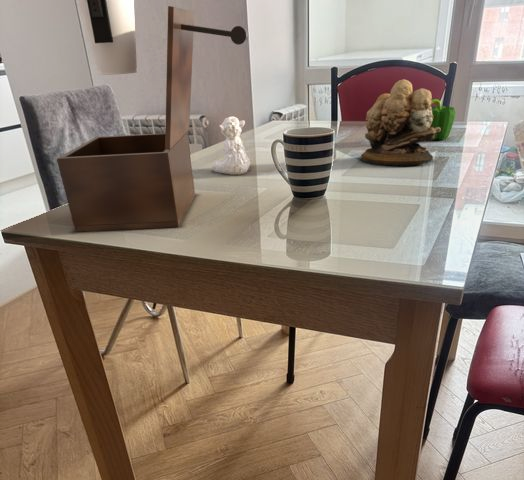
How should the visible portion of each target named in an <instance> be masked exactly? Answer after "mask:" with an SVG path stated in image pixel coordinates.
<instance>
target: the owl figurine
mask: <svg viewBox="0 0 524 480" xmlns="http://www.w3.org/2000/svg"><path fill="white" fill-rule="evenodd" d="M431 100H433V97H432V92H431V91H430V90H429V89H426V88H421V87H420V88H419V89H416V90H414V91H413V84H412V82H411V81H409V80H407V79H404V78H402V79H400V80H399V79H398V81H396V82H395V83H394V85H393V86H392V88H391V89H390V93H382V94H380V95H379V96H378V97H377V99H376V101H375V103H374V104H373V106H372V107H371V108H370V109H369V110H367V112H366V115H365V116H366V117H365V128H366V131H367V132H366V133H365V134H364V138H365V139H366V140H367V141H369V145H370V148H367V149H366V150H365V151H364V152H363V153H361V156H360V160H361V161H362V162H364V163H367V164H373V165H381V166H390V167H391V166H393V167H396V166H397V167H408V166H413V167H414V166H420V165H423V164H428V163H429V162H431V161H432V160H434V159H433V158H434V156H433V155H432V154H431V153H430V151H429V150H427V147H424V146H422V145H421V144H420V143H421V142H427V141H434V140H433V139H434V138H435V135H436V134H437V133H439V132H440V131H441V128H440V127H436V128H433V127H430V126H431V124H432V120H433V114H432V108H431V107H432V104H431V103H432V101H431Z"/></svg>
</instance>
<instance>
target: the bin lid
mask: <svg viewBox="0 0 524 480" xmlns="http://www.w3.org/2000/svg"><path fill="white" fill-rule="evenodd" d="M194 32H195V33H201V34H208V35H214V36H222V37H227V38H228V37H229V38H230V40H231V42H232V43H233V44H235V45H240V46H241V45H244V44H246V43H247V41H248V39H249V31H248V29H247V28H246V27H245V26H241V25H236V26H234V27H232V29H231V30H228V29H227V30H225V29H220V28H219V29H218V28H212V27H206V26H199V25H195V11H193V10H189V9H184V8H180V7H176V6H173V5H168V6H167V35H166V37H167V39H166V42H167V44H166V80H165V81H166V82H165V84H166V87H165V88H166V89H165V131H164V133H165V149H166V150H170V149H171V148H172V147H173V146H174V145H175V144H176V143H177V142H178V141H179V140H180V139H181V138H182V137H183V135H184V134H185V133H186V132H187V133H188V131H189V130H190V123H191V122H190V120H191V119H190V118H191V97H192V75H193V74H192V73H193V71H192V70H193V54H194V53H193V52H194V51H193V50H194V49H193V48H194Z"/></svg>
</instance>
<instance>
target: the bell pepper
mask: <svg viewBox="0 0 524 480" xmlns="http://www.w3.org/2000/svg"><path fill="white" fill-rule="evenodd" d="M431 101H432V103H431V108H432V114H433V120H432V124H431V126H430V127H433V128H436V127H440V128H441V131H440V132H439V133H437V134H436V135H435V138H434V139H433V140H432V141H436V140H437V141H441V140H443V141H444V140H447V139H448V137H449V136H450V134H451V131H452V128H453V125H454V122H455V118H456V109H455V107H453V106H444V105H442V104H441V103H442V102H441V100H439V99H433V98H432V99H431ZM433 104H436V106H433Z"/></svg>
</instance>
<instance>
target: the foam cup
mask: <svg viewBox="0 0 524 480" xmlns="http://www.w3.org/2000/svg"><path fill="white" fill-rule="evenodd" d="M76 2H77V6H78V9H79V13H80V16H81V19H82V23H83V26H84V29H85V32H86V35H87V38H88V42H89V46H90V48H91V52H92V55H93V58H94V62H95V64H96V68H97V71H98V74H99V76H113V75H115V76H116V75H126V74H127V75H128V74H136V73H138V71H137V69H138V63H137V62H138V61H137V42H136V21H135V20H136V19H135V0H106V3H107V8H108V14H109V20H110V26H111V32H112V37H113V42H111V43H95V40H94V35H93V30H92V24H91V19H90V14H89V8H88V3H87V0H76Z"/></svg>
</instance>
